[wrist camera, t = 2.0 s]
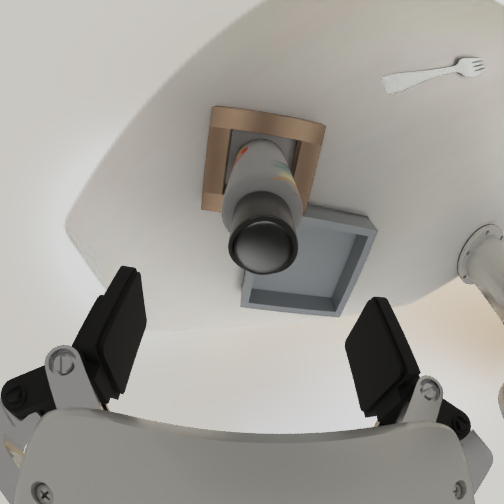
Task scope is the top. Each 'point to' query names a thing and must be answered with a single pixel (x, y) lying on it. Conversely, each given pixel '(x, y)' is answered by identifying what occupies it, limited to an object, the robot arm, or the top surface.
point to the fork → (430, 75)
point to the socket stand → (265, 123)
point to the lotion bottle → (262, 209)
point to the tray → (316, 266)
